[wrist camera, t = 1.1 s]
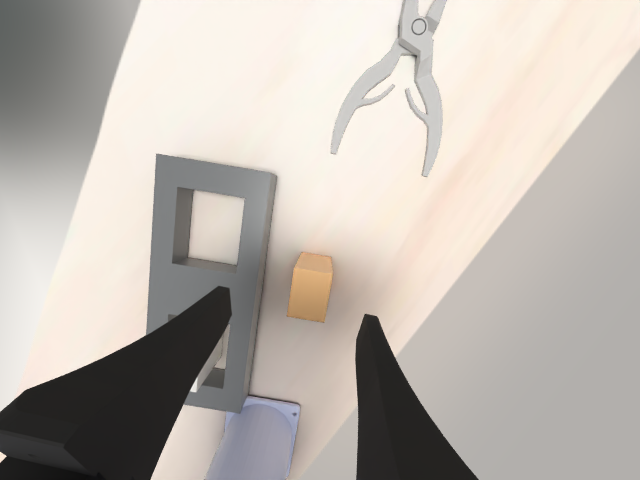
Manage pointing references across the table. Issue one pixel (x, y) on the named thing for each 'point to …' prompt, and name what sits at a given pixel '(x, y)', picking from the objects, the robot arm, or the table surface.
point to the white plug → (208, 366)
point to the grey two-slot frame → (210, 265)
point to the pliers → (414, 42)
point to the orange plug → (310, 287)
